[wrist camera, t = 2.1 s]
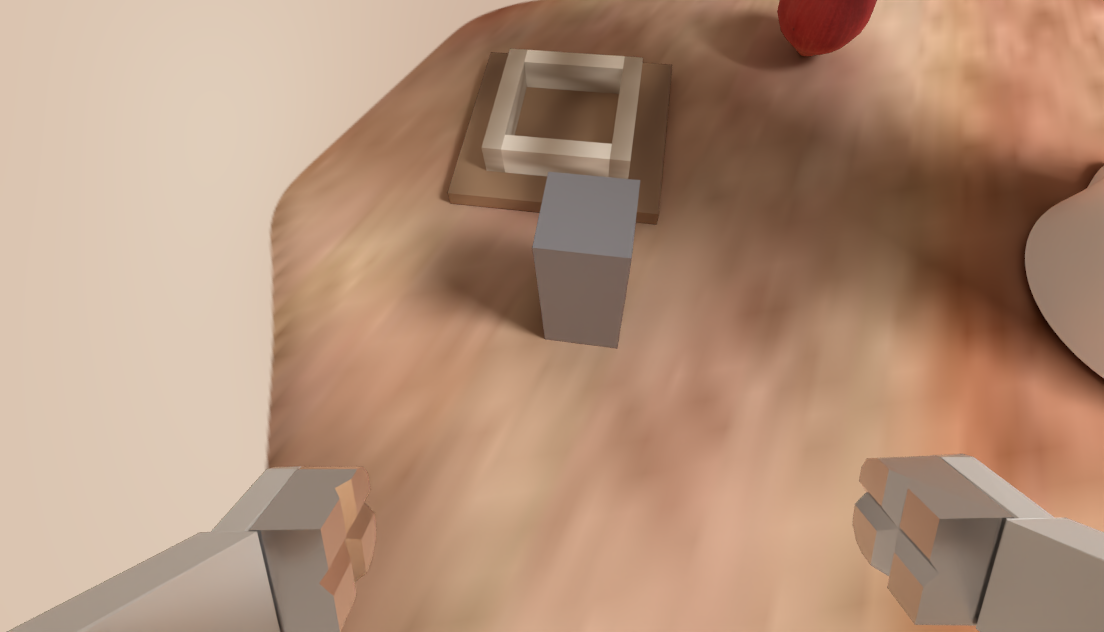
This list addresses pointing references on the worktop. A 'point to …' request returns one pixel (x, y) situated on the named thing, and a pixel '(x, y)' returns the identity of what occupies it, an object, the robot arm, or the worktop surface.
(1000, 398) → the worktop surface
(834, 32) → the onion
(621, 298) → the plug
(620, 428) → the worktop surface
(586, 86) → the socket board
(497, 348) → the worktop surface
